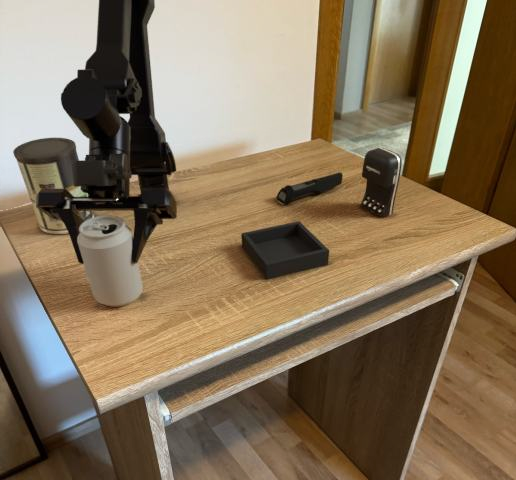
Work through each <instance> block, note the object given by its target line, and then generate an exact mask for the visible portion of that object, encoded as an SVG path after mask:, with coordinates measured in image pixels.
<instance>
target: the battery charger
mask: <svg viewBox="0 0 516 480" xmlns="http://www.w3.org/2000/svg"><path fill="white" fill-rule="evenodd" d="M402 162H403V161H402V157H401V156H400V154H398V153H396V152H395V151H392V150H390V149H387V148H385V147H376V148H374V149H370V150H368V151H367V152H366V153H365V155H364V160H363V164H362V170H361V177H362V178H364V179H365V180H366V184H365V191H364V195H363V198H362V200H361V203H360V206H361V207H362V208H363V209H364V210H366V211H368V212H370V214H371V213H372V214H373V215H375V216H377V217H387V216H391V215H392V214H393V213H394V208H395V202H396V197H397V191H398V187H399V184H400V183H399V182H400V179H401V178H400V176H401V171H402V164H403V163H402Z"/></svg>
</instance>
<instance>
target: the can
mask: <svg viewBox="0 0 516 480" xmlns="http://www.w3.org/2000/svg"><path fill="white" fill-rule="evenodd" d="M79 232H80V234H79V235H78V237H77V242H78V245H79V249H80V252H81V256H82V259H83V262H84V264H83V265H84V269H85V272H86V276H87V280H88V282H89V283H88V284H89V286H90V289H91V293H92V296H93V298H94V299H95V302H98V303H100V304H102V305H105V306H106V307H113V308H117V307H124V306H127V305H130V304H131V303H133V302H135V301H136V300H137V299H138V298H139V297H140V295H141V294H142V293H143V291H144V286H143V285H144V284H143V282H142V281H143V280H142V275H141V271H140V266H139V261H138V262H137V263H136V264H134V263H133V261H132V246H133V236H134V235H133V232H132V229H131V228H130V227H129V226H128V225H127V224H126V221H125V220H124V219H123V218H122V217H120V216H117V215H111V214H109V215H108V214H106V215H104V214H103V215H97V216H94V217H93V218H91V219H88V220H86V221H85V222H83V223H82V224H81V226H80V227H79Z"/></svg>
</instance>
